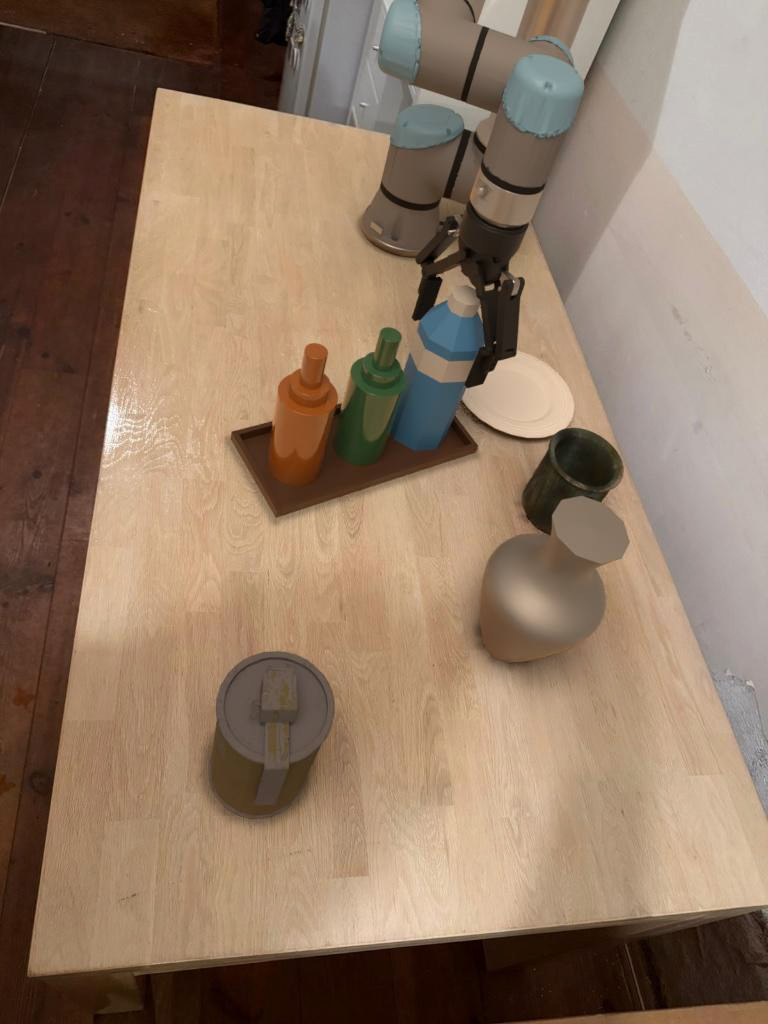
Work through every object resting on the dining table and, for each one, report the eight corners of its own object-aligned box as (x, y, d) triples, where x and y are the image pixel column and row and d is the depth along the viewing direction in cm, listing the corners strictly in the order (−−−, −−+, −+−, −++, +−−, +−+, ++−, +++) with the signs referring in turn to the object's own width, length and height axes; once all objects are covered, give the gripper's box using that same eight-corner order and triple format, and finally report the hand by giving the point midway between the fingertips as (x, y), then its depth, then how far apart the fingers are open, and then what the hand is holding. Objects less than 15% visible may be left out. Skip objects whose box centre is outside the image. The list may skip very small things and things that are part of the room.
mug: (577, 483, 115) (613, 431, 106) (599, 562, 106) (640, 513, 97) (511, 476, 113) (542, 422, 103) (528, 557, 104) (563, 506, 95)
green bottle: (367, 421, 112) (400, 309, 96) (393, 457, 109) (431, 348, 92) (323, 433, 108) (350, 320, 92) (348, 471, 105) (380, 361, 89)
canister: (211, 719, 81) (220, 635, 65) (306, 720, 83) (337, 638, 67) (205, 825, 74) (213, 759, 59) (308, 822, 77) (343, 758, 61)
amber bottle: (305, 438, 107) (329, 324, 91) (330, 477, 104) (359, 365, 87) (257, 452, 104) (273, 335, 87) (281, 492, 100) (302, 379, 84)
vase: (531, 715, 90) (631, 616, 70) (431, 647, 92) (501, 533, 73) (575, 631, 98) (674, 522, 79) (482, 571, 101) (557, 451, 81)
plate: (583, 390, 129) (588, 382, 127) (551, 465, 116) (556, 457, 114) (476, 337, 131) (479, 329, 129) (432, 406, 118) (435, 397, 116)
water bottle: (447, 414, 117) (502, 282, 97) (444, 457, 111) (502, 327, 91) (389, 400, 116) (433, 264, 96) (384, 443, 110) (429, 308, 90)
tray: (424, 389, 120) (428, 380, 118) (474, 454, 114) (478, 445, 112) (230, 441, 104) (231, 431, 103) (275, 520, 98) (277, 510, 97)
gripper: (416, 152, 88) (378, 296, 105) (538, 284, 78) (474, 421, 94) (466, 147, 92) (421, 288, 108) (589, 273, 81) (519, 407, 98)
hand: (446, 350), depth 101 cm, fingers open, 13 cm apart
